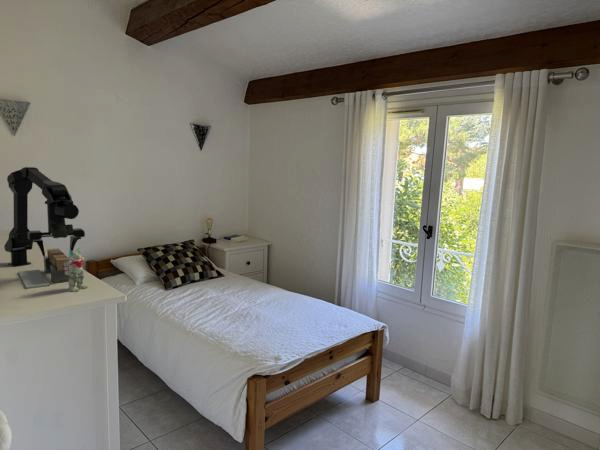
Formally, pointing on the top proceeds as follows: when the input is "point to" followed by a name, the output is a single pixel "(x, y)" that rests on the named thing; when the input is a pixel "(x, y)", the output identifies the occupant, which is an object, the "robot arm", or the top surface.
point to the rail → (56, 258)
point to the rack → (55, 272)
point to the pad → (33, 279)
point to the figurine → (74, 270)
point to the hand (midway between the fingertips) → (57, 255)
